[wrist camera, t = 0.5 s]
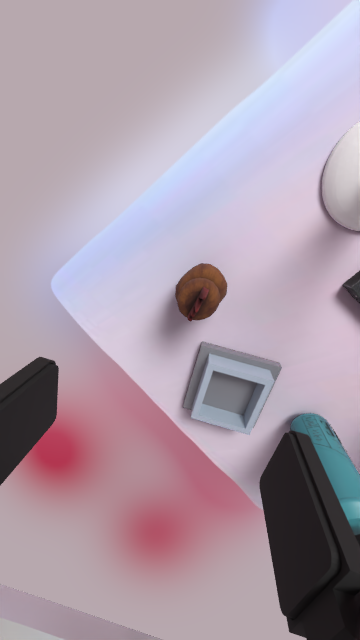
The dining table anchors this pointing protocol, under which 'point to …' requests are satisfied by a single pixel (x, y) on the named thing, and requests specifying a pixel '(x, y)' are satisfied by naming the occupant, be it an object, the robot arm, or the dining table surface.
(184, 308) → the wooden figurine
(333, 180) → the candlestick
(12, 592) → the robot arm
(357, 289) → the disk drive
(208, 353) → the figurine dock
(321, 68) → the dining table surface
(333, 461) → the beverage bottle
